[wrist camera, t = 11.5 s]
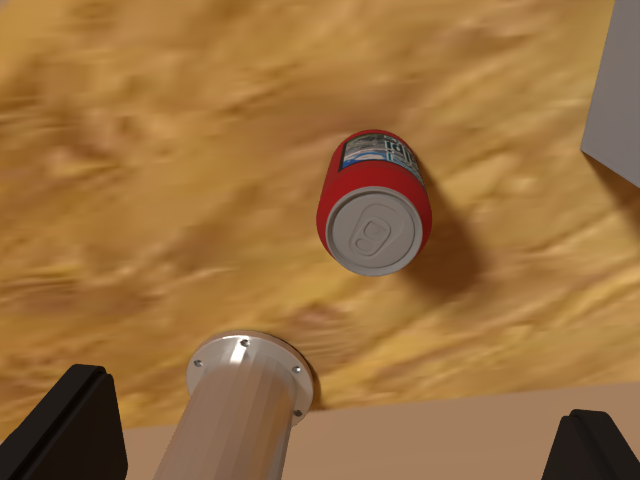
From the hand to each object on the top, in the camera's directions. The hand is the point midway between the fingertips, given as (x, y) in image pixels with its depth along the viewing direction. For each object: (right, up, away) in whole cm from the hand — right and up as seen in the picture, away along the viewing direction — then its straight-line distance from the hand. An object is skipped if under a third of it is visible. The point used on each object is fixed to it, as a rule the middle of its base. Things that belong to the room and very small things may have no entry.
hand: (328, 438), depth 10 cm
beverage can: (+4, +10, +27) cm, 29 cm away
